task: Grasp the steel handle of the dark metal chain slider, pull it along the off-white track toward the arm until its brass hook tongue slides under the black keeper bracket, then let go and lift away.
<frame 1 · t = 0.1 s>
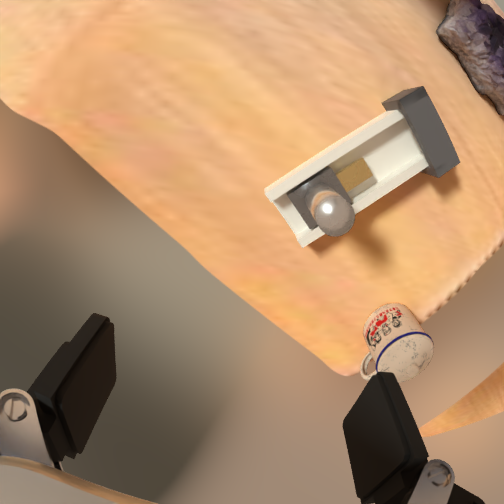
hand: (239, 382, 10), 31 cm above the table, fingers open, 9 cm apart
geode: (479, 59, 29), on the table
teacup with lid: (380, 330, 46), on the table
chain slider: (341, 194, 32), point 7 cm above the table, slide at 0.0 cm
track: (360, 163, 37), on the table
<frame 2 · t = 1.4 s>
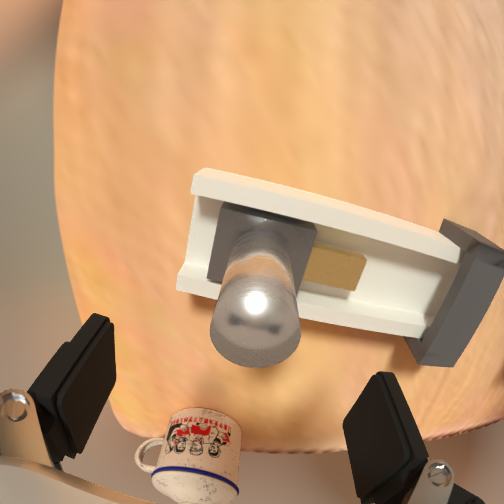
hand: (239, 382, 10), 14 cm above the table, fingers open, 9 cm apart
teacup with lid: (194, 425, 33), on the table
chain slider: (294, 286, 17), point 7 cm above the table, slide at 0.0 cm
track: (349, 257, 23), on the table
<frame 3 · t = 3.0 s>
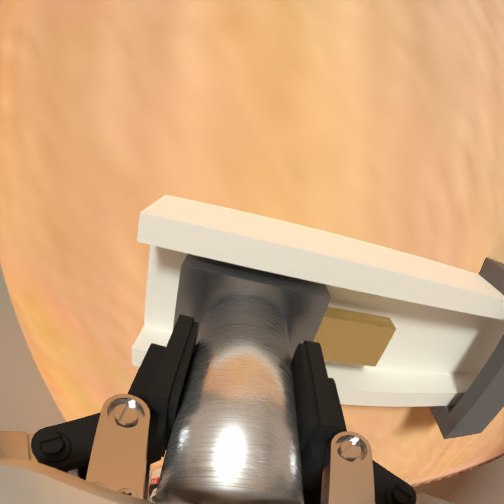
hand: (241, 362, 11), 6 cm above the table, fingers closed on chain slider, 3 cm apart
teacup with lid: (178, 479, 26), on the table
chain slider: (295, 390, 10), point 7 cm above the table, slide at 0.0 cm, touching gripper
track: (367, 313, 17), on the table
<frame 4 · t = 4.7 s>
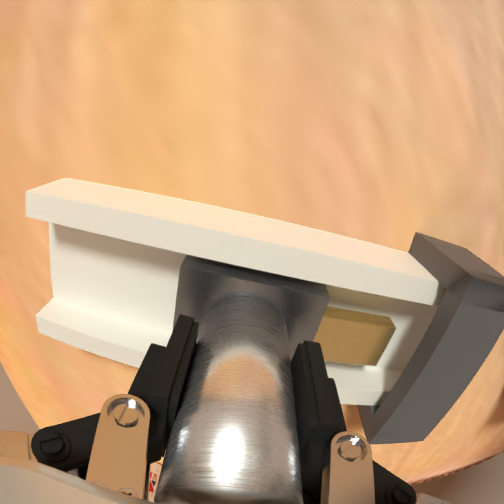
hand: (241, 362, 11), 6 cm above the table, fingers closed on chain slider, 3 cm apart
teacup with lid: (125, 465, 25), on the table
chain slider: (295, 390, 10), point 7 cm above the table, slide at 6.0 cm, touching gripper
track: (265, 293, 16), on the table
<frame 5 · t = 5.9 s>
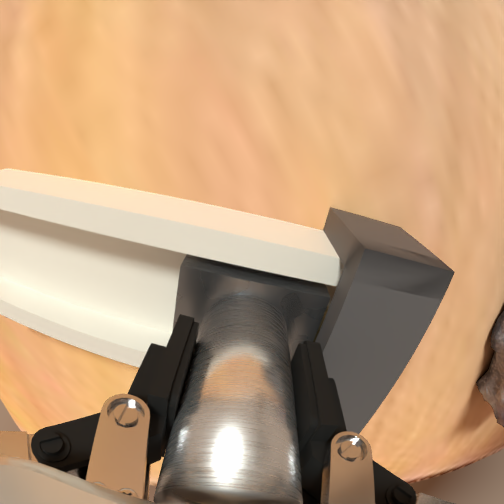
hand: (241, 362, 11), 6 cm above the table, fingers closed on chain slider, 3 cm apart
chain slider: (295, 390, 10), point 7 cm above the table, slide at 11.1 cm, touching gripper
track: (171, 272, 16), on the table
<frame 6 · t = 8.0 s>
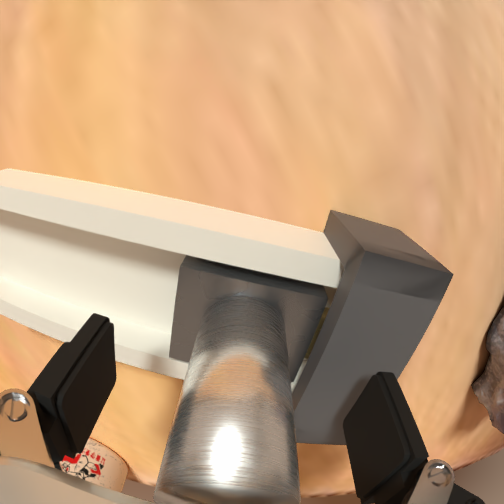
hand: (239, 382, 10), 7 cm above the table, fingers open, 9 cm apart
teacup with lid: (82, 449, 25), on the table
chain slider: (293, 390, 10), point 7 cm above the table, slide at 11.0 cm
track: (172, 273, 16), on the table
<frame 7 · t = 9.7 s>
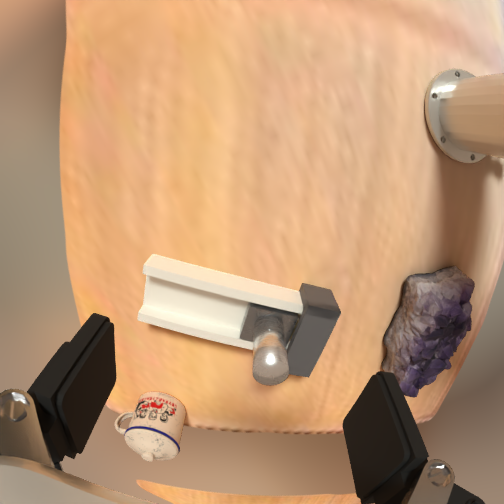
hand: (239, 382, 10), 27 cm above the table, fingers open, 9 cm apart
geode: (416, 320, 42), on the table
teacup with lid: (154, 405, 48), on the table
chain slider: (286, 346, 34), point 7 cm above the table, slide at 11.0 cm
track: (237, 304, 40), on the table
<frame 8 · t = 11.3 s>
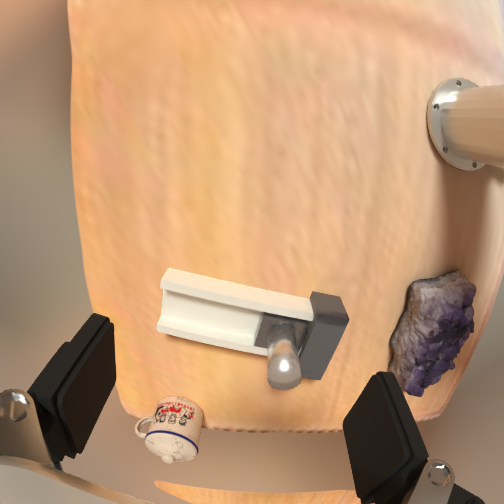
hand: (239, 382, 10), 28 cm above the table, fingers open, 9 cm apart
geode: (421, 323, 43), on the table
teacup with lid: (173, 409, 51), on the table
chain slider: (298, 352, 36), point 7 cm above the table, slide at 11.0 cm
track: (251, 313, 42), on the table
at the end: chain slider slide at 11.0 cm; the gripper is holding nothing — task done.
